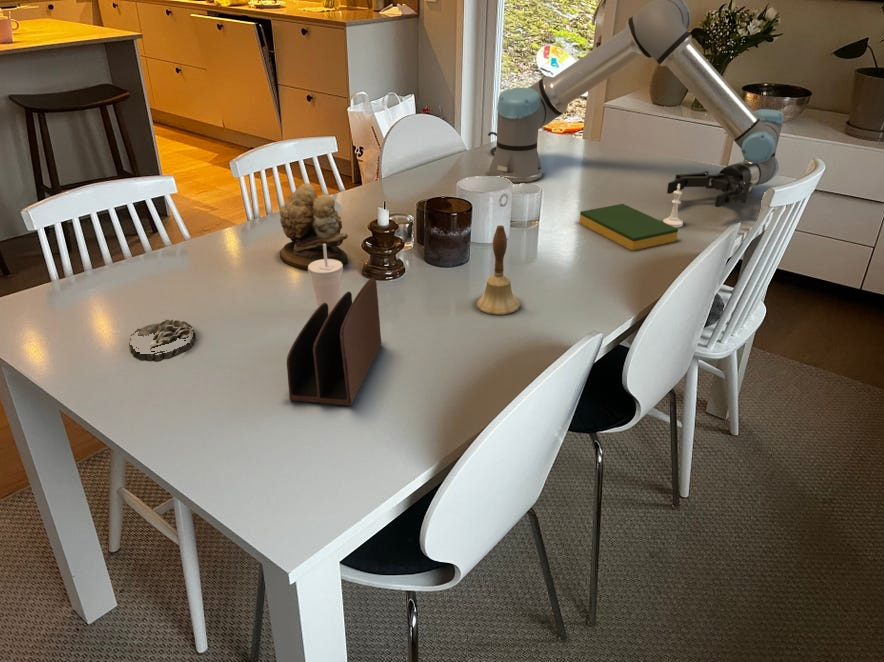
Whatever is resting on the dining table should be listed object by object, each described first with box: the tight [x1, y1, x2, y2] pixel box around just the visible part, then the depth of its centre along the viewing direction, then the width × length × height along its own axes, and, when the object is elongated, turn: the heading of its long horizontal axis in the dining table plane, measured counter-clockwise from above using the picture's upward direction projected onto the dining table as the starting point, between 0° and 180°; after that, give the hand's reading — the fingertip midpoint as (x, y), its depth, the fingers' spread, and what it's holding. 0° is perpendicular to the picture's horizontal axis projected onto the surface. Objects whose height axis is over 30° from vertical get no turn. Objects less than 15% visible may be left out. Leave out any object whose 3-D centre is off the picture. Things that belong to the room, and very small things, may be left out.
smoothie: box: [307, 244, 344, 315], centre depth 138 cm, size 6×6×14 cm
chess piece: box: [662, 184, 684, 229], centre depth 180 cm, size 5×5×10 cm
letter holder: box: [286, 277, 382, 407], centre depth 119 cm, size 10×20×14 cm, turn 171°
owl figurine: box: [278, 182, 349, 271], centre depth 159 cm, size 18×12×17 cm, turn 57°
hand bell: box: [476, 224, 521, 316], centre depth 140 cm, size 8×8×16 cm
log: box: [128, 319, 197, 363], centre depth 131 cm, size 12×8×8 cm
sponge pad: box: [579, 203, 679, 251], centre depth 178 cm, size 20×13×3 cm, turn 27°
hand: (692, 194), depth 184 cm, fingers open, 13 cm apart
